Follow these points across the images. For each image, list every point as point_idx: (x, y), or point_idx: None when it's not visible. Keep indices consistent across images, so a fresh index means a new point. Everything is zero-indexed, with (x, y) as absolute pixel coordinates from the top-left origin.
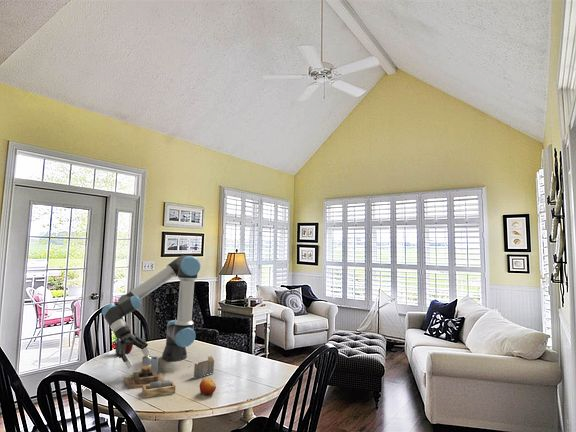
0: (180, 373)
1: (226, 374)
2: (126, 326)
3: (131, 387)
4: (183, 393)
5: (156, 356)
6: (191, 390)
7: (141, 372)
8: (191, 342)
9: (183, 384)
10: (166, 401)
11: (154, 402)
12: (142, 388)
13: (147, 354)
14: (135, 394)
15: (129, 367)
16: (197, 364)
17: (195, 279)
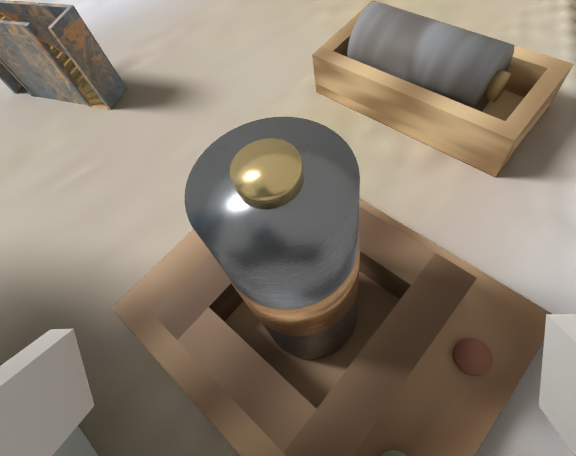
0: (57, 210)
1: None
2: None
3: (513, 297)
4: (348, 16)
5: None
6: (294, 15)
7: (353, 305)
8: None
9: (238, 83)
10: (483, 6)
11: (541, 31)
12: (507, 154)
13: (7, 408)
14: (560, 184)
15: (543, 397)
16: (69, 7)
17: None
